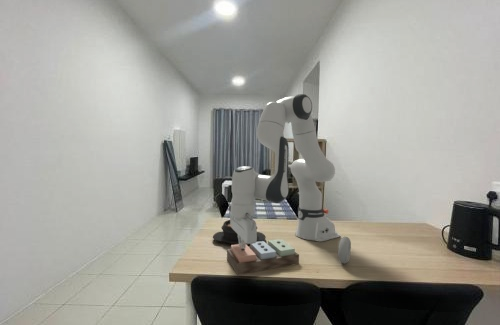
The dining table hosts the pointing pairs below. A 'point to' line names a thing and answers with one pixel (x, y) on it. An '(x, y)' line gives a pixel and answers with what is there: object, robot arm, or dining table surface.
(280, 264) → the wooden counting block tray
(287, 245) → the counting block
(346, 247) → the donut
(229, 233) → the casserole
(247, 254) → the counting block
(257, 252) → the counting block
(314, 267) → the dining table surface
